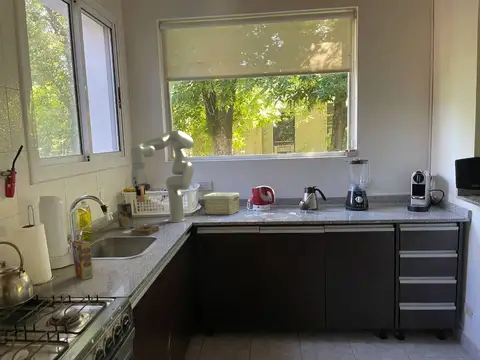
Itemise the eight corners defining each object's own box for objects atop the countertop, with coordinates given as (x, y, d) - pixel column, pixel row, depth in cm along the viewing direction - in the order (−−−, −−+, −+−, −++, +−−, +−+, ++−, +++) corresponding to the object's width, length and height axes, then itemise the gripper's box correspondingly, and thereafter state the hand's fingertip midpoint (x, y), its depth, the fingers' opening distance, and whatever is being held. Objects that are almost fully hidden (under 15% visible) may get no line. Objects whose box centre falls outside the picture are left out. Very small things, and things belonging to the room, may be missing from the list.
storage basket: (203, 214, 282) (202, 195, 280) (215, 210, 295) (214, 191, 294) (230, 215, 269) (228, 195, 268) (241, 211, 283) (240, 192, 282)
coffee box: (133, 225, 255) (131, 202, 253) (133, 227, 249) (131, 204, 247) (119, 227, 252) (117, 204, 251) (119, 229, 246) (116, 205, 245)
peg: (140, 201, 235) (139, 185, 234) (145, 201, 233) (144, 185, 232) (136, 202, 231) (135, 186, 230) (142, 202, 229) (140, 186, 229)
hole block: (142, 230, 239) (142, 225, 238) (159, 230, 235) (158, 226, 235) (131, 235, 227) (131, 230, 227) (148, 235, 224) (148, 230, 223)
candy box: (94, 277, 156) (90, 241, 154) (84, 280, 153) (80, 244, 151) (84, 273, 162) (81, 238, 160) (74, 276, 159) (70, 241, 157)
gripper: (141, 165, 239) (143, 193, 241) (125, 167, 223) (127, 197, 225) (151, 164, 237) (153, 193, 238) (135, 166, 221) (138, 197, 223)
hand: (140, 194), depth 232 cm, fingers closed on peg, 4 cm apart
